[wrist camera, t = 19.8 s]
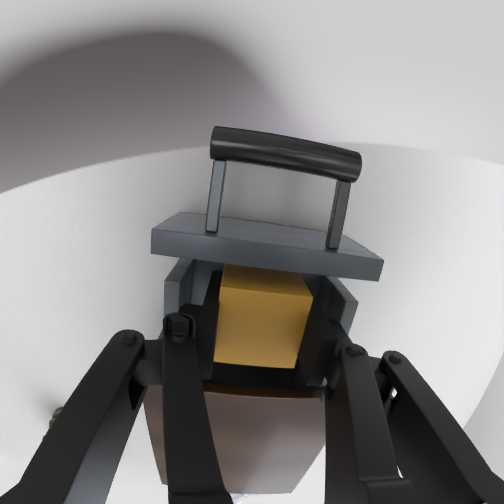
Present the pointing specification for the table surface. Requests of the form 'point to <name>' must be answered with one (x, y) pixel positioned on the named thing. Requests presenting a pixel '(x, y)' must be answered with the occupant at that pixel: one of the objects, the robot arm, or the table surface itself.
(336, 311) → the drawer
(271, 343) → the block
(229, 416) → the cabinet
